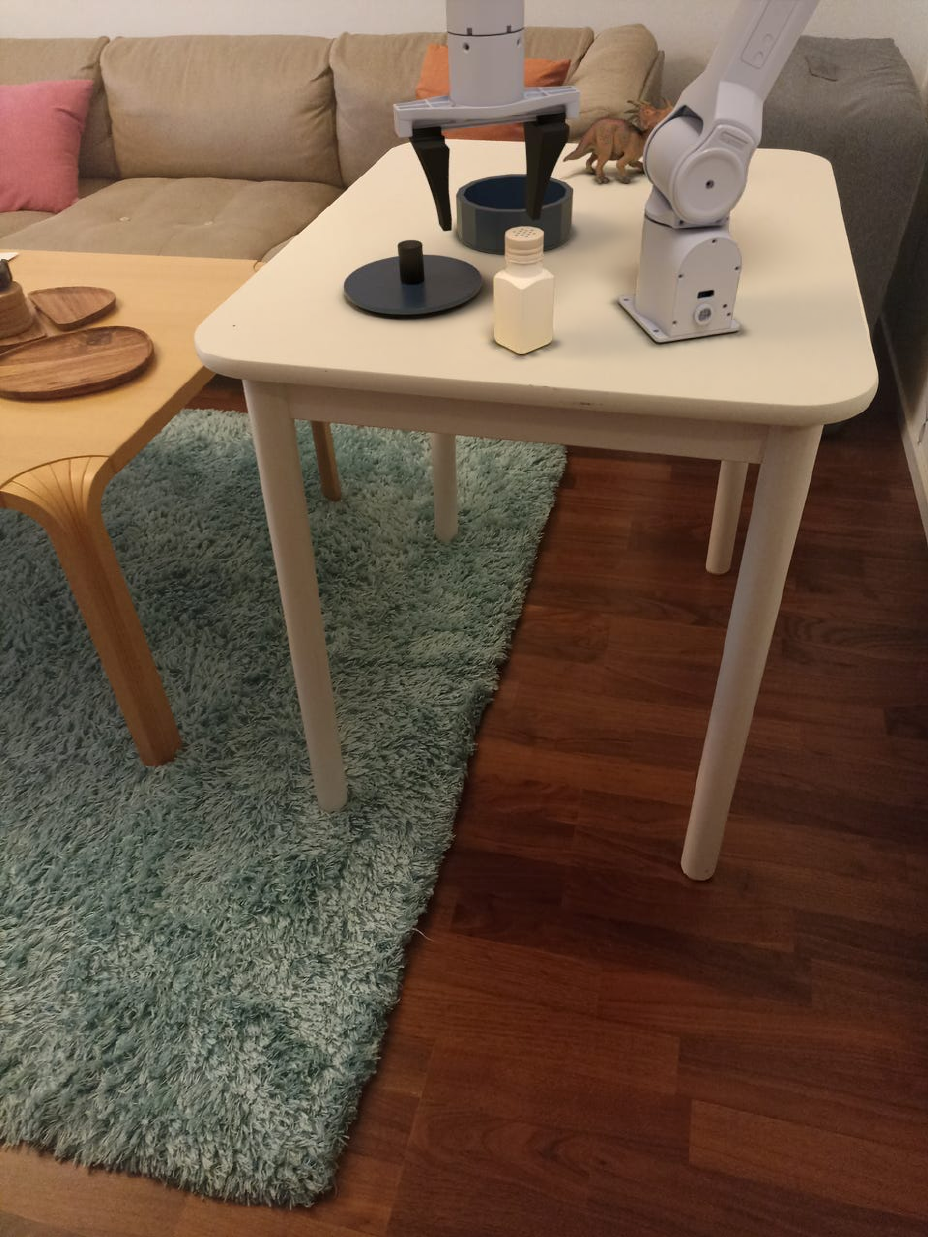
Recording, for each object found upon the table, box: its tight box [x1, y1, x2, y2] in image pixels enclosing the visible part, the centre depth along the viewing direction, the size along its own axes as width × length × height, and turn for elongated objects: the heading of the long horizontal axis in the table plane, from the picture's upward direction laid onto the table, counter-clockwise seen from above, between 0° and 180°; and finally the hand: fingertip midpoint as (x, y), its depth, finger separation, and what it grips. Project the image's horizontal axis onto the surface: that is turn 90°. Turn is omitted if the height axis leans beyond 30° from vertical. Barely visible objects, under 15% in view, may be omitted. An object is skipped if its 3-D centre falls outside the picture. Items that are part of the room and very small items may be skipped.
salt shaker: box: [493, 227, 555, 355], centre depth 73 cm, size 4×4×10 cm
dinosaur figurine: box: [562, 95, 675, 185], centre depth 106 cm, size 14×6×9 cm, turn 82°
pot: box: [455, 173, 574, 255], centre depth 95 cm, size 13×13×4 cm
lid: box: [343, 239, 483, 315], centre depth 84 cm, size 14×14×5 cm
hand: (489, 221), depth 72 cm, fingers open, 7 cm apart
